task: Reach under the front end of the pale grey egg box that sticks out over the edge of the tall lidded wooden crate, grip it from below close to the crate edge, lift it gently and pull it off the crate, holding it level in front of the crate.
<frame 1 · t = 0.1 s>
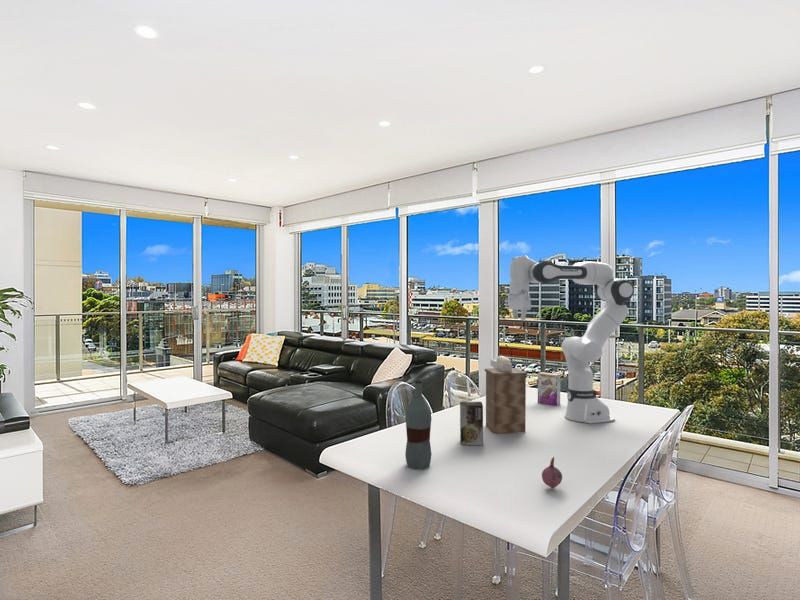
hand: (519, 319, 222), 48 cm above the table, tool pointing down, fingers open, 8 cm apart
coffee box: (471, 443, 189), on the table
vegetable: (551, 489, 145), on the table
candy bar box: (548, 403, 256), on the table
bottle: (418, 465, 164), on the table
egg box: (500, 368, 214), point 26 cm above the table, touching lidded wooden crate
lidded wooden crate: (505, 428, 208), on the table
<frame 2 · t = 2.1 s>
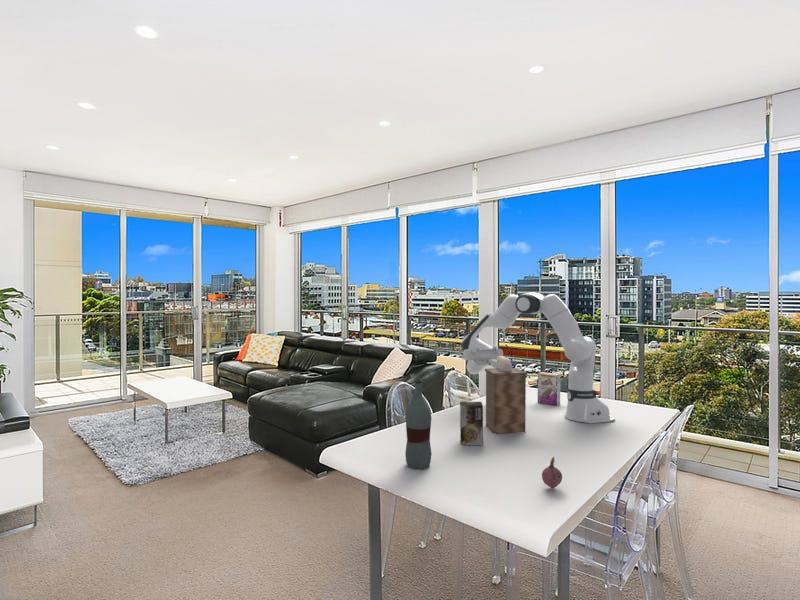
hand: (486, 348, 235), 33 cm above the table, tool pointing upward, fingers open, 8 cm apart
nothing on the table moved.
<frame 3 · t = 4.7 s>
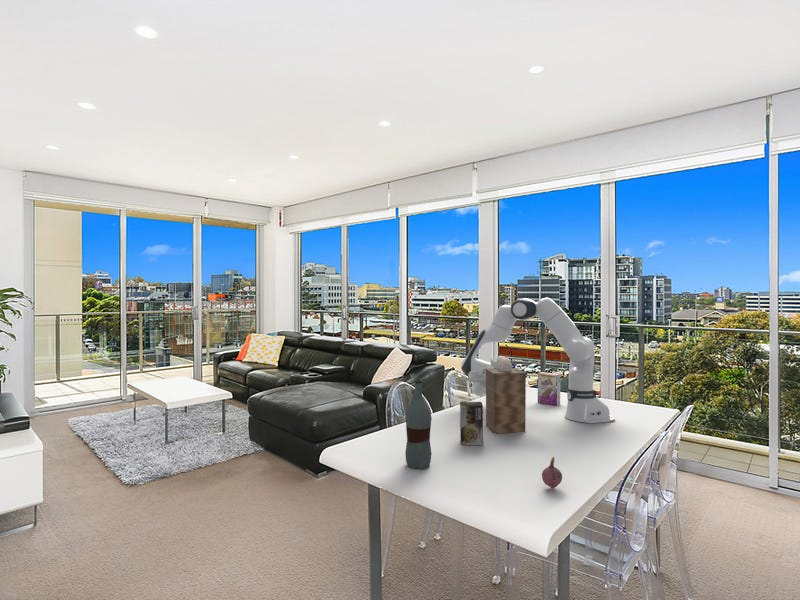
hand: (492, 370, 226), 23 cm above the table, tool pointing upward, fingers open, 8 cm apart
nothing on the table moved.
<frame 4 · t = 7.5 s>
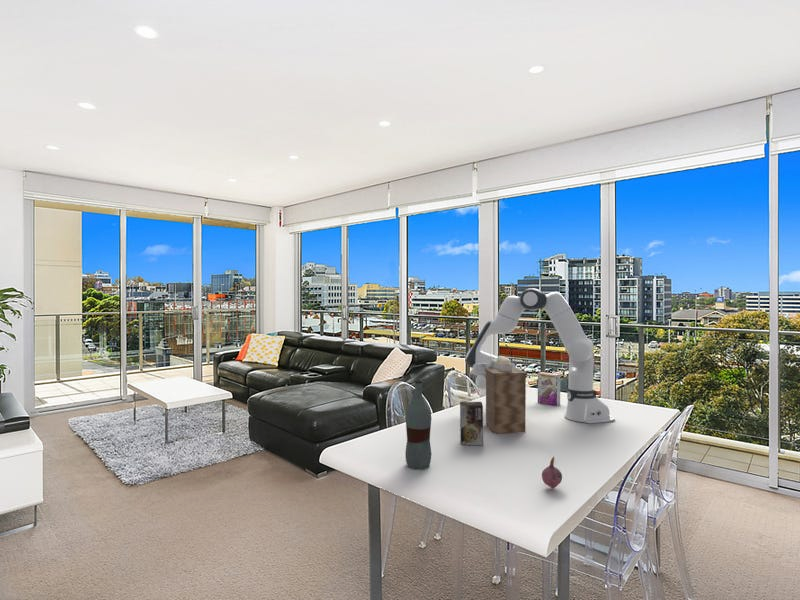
hand: (498, 362, 218), 28 cm above the table, tool pointing upward, fingers closed on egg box, 4 cm apart
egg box: (500, 368, 214), point 26 cm above the table, touching gripper, lidded wooden crate
everything else where it was.
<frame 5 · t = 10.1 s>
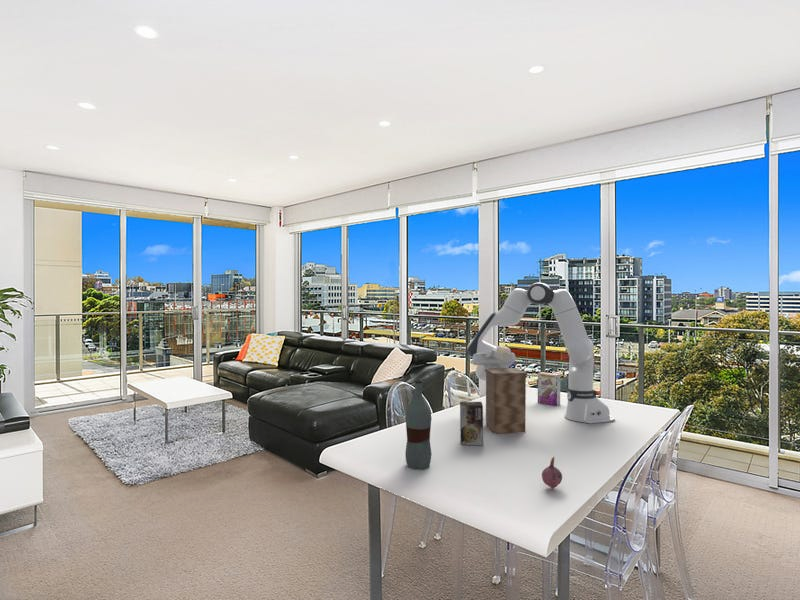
hand: (498, 352, 218), 33 cm above the table, tool pointing upward, fingers closed on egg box, 4 cm apart
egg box: (500, 357, 214), point 31 cm above the table, touching gripper
everything else where it was.
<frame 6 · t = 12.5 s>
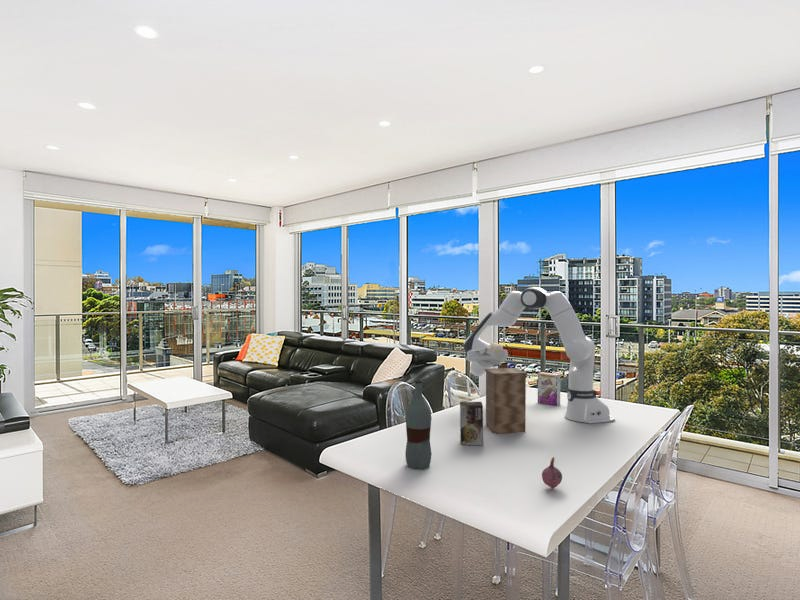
hand: (491, 349, 228), 33 cm above the table, tool pointing upward, fingers closed on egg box, 4 cm apart
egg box: (493, 354, 224), point 31 cm above the table, touching gripper
everything else where it was.
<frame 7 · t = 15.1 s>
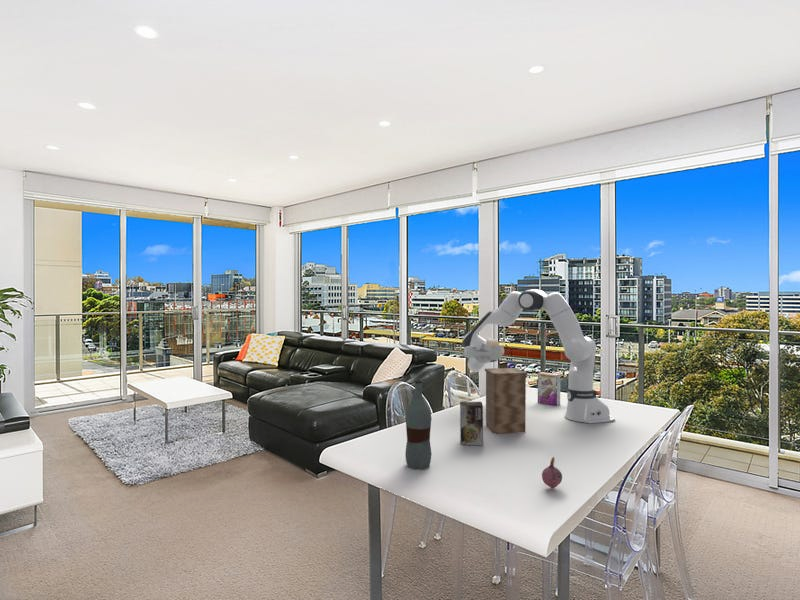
hand: (487, 345, 234), 34 cm above the table, tool pointing upward, fingers closed on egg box, 4 cm apart
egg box: (490, 350, 229), point 32 cm above the table, touching gripper
everything else where it was.
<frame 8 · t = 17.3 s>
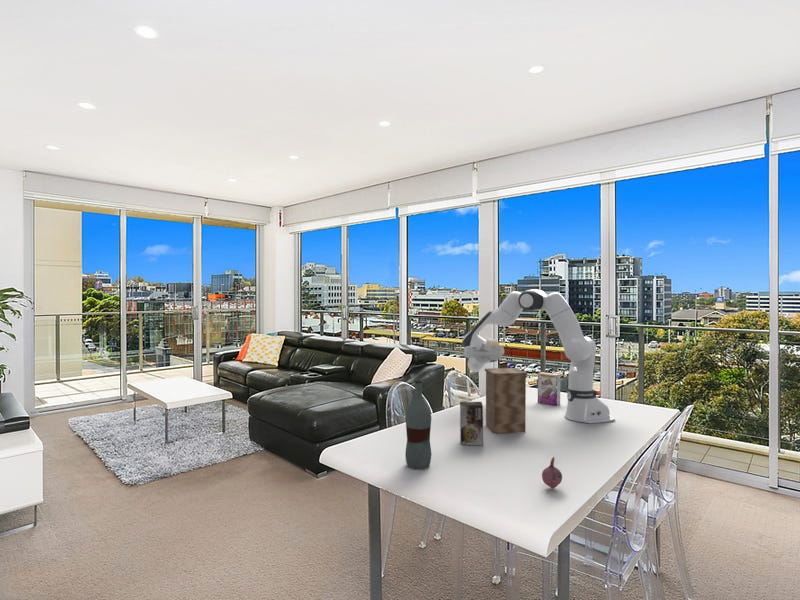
hand: (487, 345, 234), 34 cm above the table, tool pointing upward, fingers closed on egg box, 4 cm apart
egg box: (490, 350, 229), point 32 cm above the table, touching gripper
everything else where it was.
at the end: the gripper is holding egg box; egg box inside the target area (0.0 cm from its centre), point 32.4 cm above the table; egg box tilted 0° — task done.
